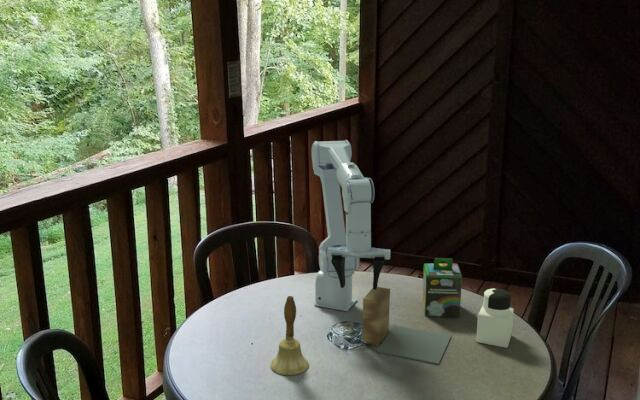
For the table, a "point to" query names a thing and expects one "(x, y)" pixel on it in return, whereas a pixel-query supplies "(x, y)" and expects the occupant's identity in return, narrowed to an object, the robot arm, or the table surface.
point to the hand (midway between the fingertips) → (358, 287)
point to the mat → (415, 344)
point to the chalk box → (442, 288)
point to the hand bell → (289, 346)
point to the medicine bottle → (495, 318)
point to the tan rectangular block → (376, 315)
